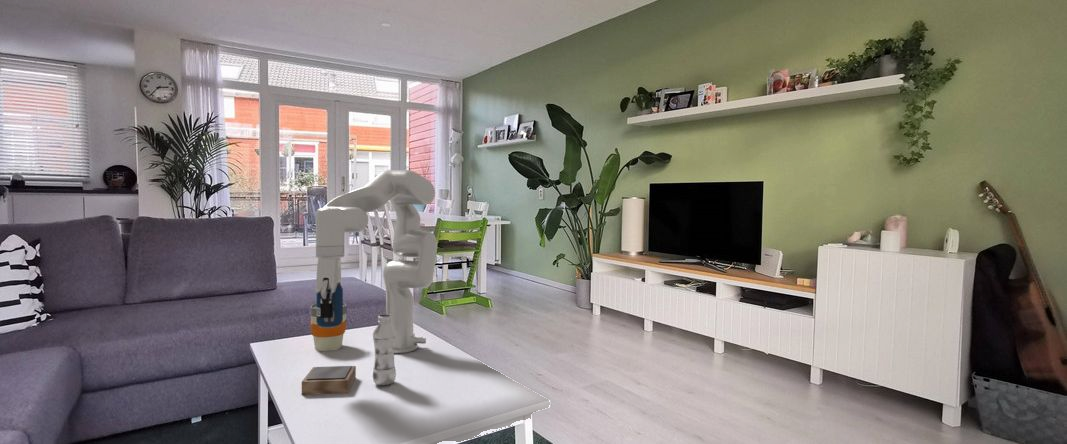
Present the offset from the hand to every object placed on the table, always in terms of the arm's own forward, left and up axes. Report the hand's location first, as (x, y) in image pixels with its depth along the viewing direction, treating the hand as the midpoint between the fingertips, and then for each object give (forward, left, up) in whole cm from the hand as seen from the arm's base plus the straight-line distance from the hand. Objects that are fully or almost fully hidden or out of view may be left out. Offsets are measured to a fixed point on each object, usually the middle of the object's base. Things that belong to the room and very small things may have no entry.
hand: (329, 313), depth 146 cm
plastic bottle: (-15, 0, -21) cm, 26 cm away
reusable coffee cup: (+9, -39, -21) cm, 45 cm away
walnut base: (0, 0, -21) cm, 21 cm away
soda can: (0, 0, -3) cm, 3 cm away
